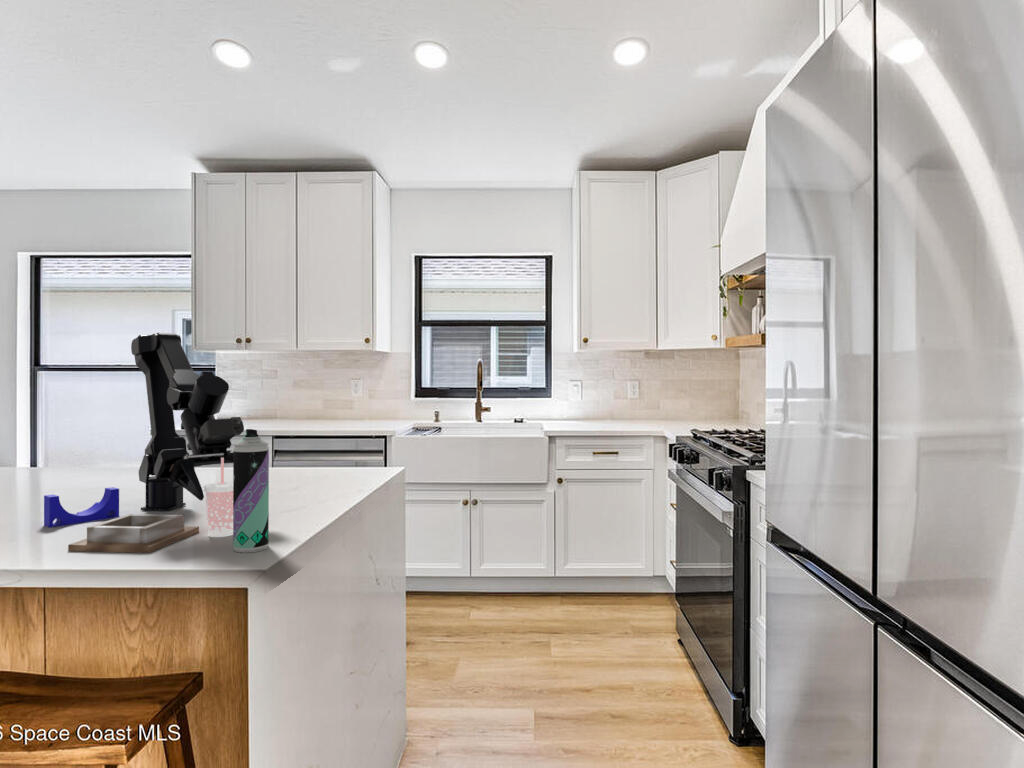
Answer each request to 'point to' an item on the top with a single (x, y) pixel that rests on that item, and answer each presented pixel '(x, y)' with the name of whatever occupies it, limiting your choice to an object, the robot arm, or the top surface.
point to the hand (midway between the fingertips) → (225, 496)
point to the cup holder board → (134, 534)
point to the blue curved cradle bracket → (96, 512)
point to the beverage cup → (219, 507)
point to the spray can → (250, 493)
